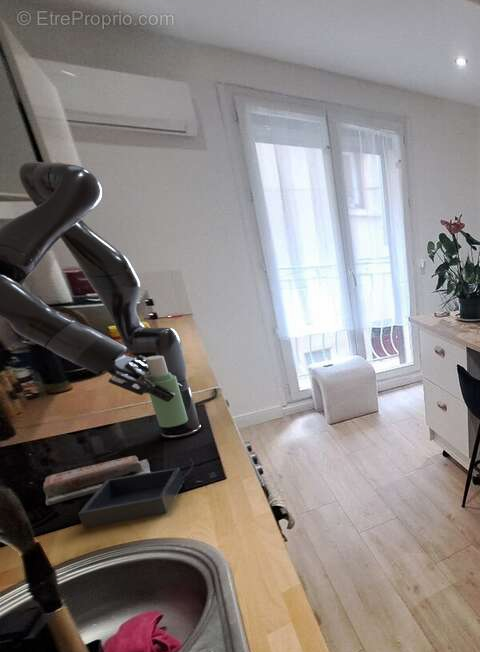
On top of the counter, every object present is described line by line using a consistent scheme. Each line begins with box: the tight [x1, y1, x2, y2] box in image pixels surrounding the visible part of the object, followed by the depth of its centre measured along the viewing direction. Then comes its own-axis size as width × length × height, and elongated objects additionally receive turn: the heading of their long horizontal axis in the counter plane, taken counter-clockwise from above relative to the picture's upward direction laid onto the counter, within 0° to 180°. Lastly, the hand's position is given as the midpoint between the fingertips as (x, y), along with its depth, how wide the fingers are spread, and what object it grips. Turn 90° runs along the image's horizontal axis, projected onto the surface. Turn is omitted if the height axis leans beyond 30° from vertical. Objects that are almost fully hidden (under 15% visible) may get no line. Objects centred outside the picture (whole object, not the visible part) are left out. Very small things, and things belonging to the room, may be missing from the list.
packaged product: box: [42, 455, 152, 506], centre depth 101 cm, size 18×5×10 cm
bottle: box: [146, 356, 188, 428], centre depth 93 cm, size 5×5×16 cm
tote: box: [77, 467, 184, 530], centre depth 94 cm, size 14×14×5 cm
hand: (175, 393), depth 94 cm, fingers closed on bottle, 5 cm apart
